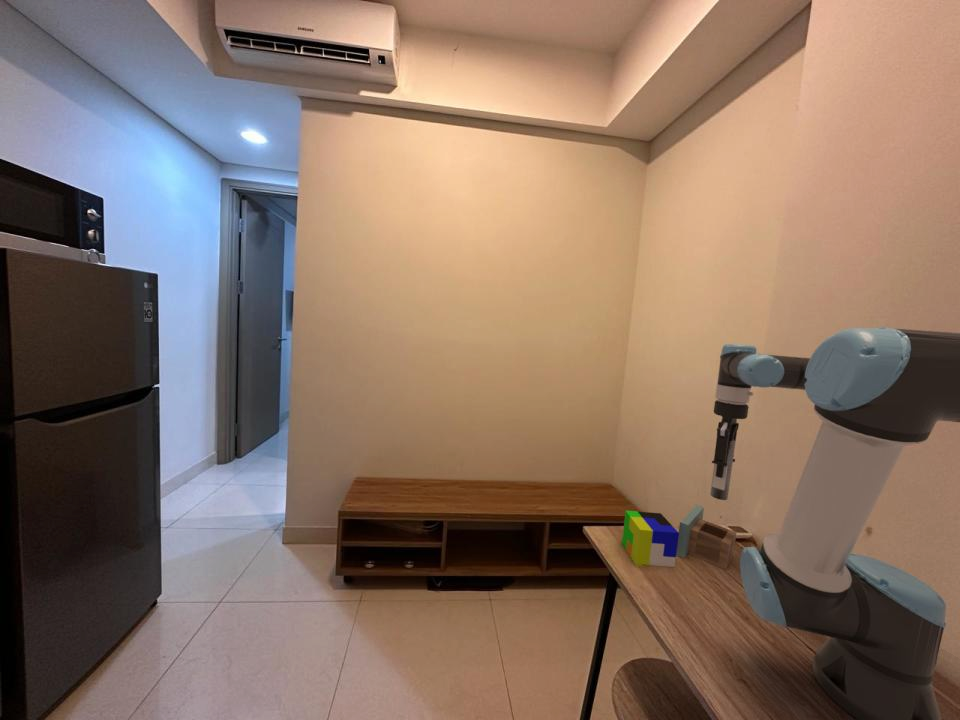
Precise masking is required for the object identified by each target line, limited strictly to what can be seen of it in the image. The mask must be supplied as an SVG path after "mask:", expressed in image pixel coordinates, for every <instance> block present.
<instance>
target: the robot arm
mask: <svg viewBox="0 0 960 720" xmlns="http://www.w3.org/2000/svg"><path fill="white" fill-rule="evenodd" d="M719 359H720V360H719V368H718V375H717V376H718V377H717V383H716V389H715V394H714V395H715V396H714V397H715V399H716V400H715V401H714V407H713V413H714V415H717V416H720V417H722V418H721V421H719V422H718V425H717V428H716V442H715V449H714V456H713V460H711V463H712V464H713V465H714V464H715V468H714V467H713V470H714V476H713V475H712V478H713V483H712V482H711V485H712V487H715V488H718V489H721V490H724V489H725V481H726V474H727V467H728V466H727V460H728V454H729V448H730V442H731V441H733V440H734V441H736V442H737V435H738V434H737V433H738V429H739V427H740V426H739V425H740V424H739V422H738V421H737V420H745V419H747V417H748V416H749V414H748V413H749V405H748V403H750V397H751V396H754V393H753V391H752V390H751V389H752V387H754V388H757V387H758V388H763V389H764V388H777V389H778V388H779V389H790V390H793V389H795V390H802V391H805V393H806V395H807V398H808V399H809V400H810V402H811V403H813V404H814V407H813V411H814V413H815V414H816V415H817V416H818V418H819V419H820V420H821V421H822V422H821V423H820V424H821V425H820V426H819V427H820V428H819V430H818V433H817V435H816V437H815V440H814V443H813V445H812V448H811V449H810V452H809V454H808V455H809V456H808V457H807V461H806V463H805V465H804V468H803V471H802V473H801V476H800V479H799V481H798V483H797V485H796V488H795V491H794V493H793V497H792V498H791V501H790V503H789V506H788V508H787V512H786V513H785V517H784V518H783V521H782V523H781V524H782V525H781V526H780V529H779V531H774V532H770V533H769V534H767V535H766V536H765V538H764V539H763V542H762V544H761V547H760V548H756V547H755V546H748V547H747V546H746V547H744V548H743V549H742V551H741V553H740V558H739V560H740V561H739V568H740V576H741V582H742V583H741V584H742V586H743V589H744V593H745V595H746V598H747V602H748V603H749V606H750V607H751V609H752V611H753V612H754V613H755V614H756V616H758V618H760V619H762V620H764V621H766V622H769V623H770V624H771V623H772V624H775V625H779V626H781V627H782V628H785V629H786V628H789V629H794V630H798V631H802V632H806V633H807V632H808V633H811V634H817V635H821V636H825V637H828V638H827V639H826V641H824V643H823V644H822V645H821V646H820V648H819V649H818V650H816V652H815V654H814V657H813V663H812V672H813V676H814V678H815V680H816V682H817V684H819V686H820V687H821V688H822V690H823V691H824V692H825V693H826V694H827V695H828V696H829V697H830V699H832V700H833V702H835V703H836V704H837V705H838V706H839V707H841V709H843V710H844V711H845V712H847V713H848V714H849V715H851V716H852V717H854V718H855V719H856V720H943V719H942V716H941V713H940V709H939V706H938V701H937V697H936V694H935V691H934V686H933V680H934V679H933V678H934V675H935V671H936V665H937V660H938V654H939V651H940V647H941V642H942V638H943V634H944V631H945V630H944V629H945V628H946V627H947V623H946V610H947V606H946V605H947V604H946V602H945V600H944V598H943V597H942V596H941V595H940V593H938V591H936V590H935V589H934V588H933V587H931V586H930V585H929V584H927V583H925V582H924V581H923V580H921V579H919V578H918V577H916V576H914V575H913V574H911V573H909V572H907V571H905V570H903V569H901V568H899V567H897V566H895V565H892V564H890V563H888V562H885V561H882V560H880V559H877V558H874V557H871V556H867V555H863V554H861V553H860V554H859V553H852V552H853V549H854V547H855V546H856V544H857V541H858V540H859V537H860V535H861V533H862V532H863V529H864V527H865V525H866V524H867V521H868V519H869V517H870V516H871V513H872V512H873V510H874V508H875V505H876V503H877V502H878V500H879V498H880V495H881V494H882V491H883V489H884V488H885V485H886V484H887V482H888V480H889V478H890V476H891V474H892V472H893V470H894V468H895V465H896V464H897V462H898V460H899V457H900V455H901V454H902V452H903V450H904V448H905V447H909V446H913V445H920V444H924V443H926V441H927V440H928V439H929V437H930V435H931V433H932V432H933V429H934V428H935V426H936V424H937V422H939V421H941V422H952V423H960V332H948V331H947V332H946V331H936V330H933V331H932V330H919V329H908V328H895V327H893V328H892V327H888V326H885V327H881V326H879V327H878V326H877V327H873V328H872V327H871V328H870V327H853V328H852V327H851V328H846V329H843V330H839V331H837V332H836V333H833V335H830V336H828V337H827V338H825V339H824V340H823V341H822V342H821V343H820V344H819V345H818V346H817V347H816V348H815V350H814V351H813V353H812V355H811V356H810V357H802V356H801V357H797V356H790V355H789V356H787V355H775V354H765V353H764V354H763V353H757V347H756V346H755V345H752V344H751V345H750V344H738V343H736V344H735V343H725V344H723V346H722V349H721V353H720V356H719ZM734 457H735V455H734V456H733V463H735V462H736V458H734Z"/></svg>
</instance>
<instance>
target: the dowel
mask: <svg viewBox="0 0 960 720" xmlns="http://www.w3.org/2000/svg"><path fill="white" fill-rule="evenodd" d="M736 442H737V440H736V441H734V440H733V441H731V442H730V448H729V454H728V460H727V466H728V467H727V474H726V481H725V489H724V490H721V489H718V488H715V487H712V483H713V476H714V468H715V464H714V463H713V470H712V471H713V472H712V477H711V479H712V480H711V485H710V486H711V488H710V494H709V495H710V496H711V497H712V498H714V499H717V500H721V501H727V500H728V499H729V492H730V491H729V490H730V482H731V478H732V477H731V476H732V471H733V470H732V469H733V463H734V462H733V459H734V457H735V448H736ZM733 456H734V457H733Z"/></svg>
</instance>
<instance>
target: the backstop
mask: <svg viewBox="0 0 960 720" xmlns="http://www.w3.org/2000/svg"><path fill="white" fill-rule="evenodd" d="M704 511H705V507H704V506H701V505H698V504H696V505H695V506H694V507H693V508H692V509H691V510H690V511H688V513H687V514H686V515H685V516H684V518H682V519H681V520H680V521H679V527H678V532H679V537H678V544H677V552H676V557H680V558H682V559H684V558H685V557H686V556H687V554H688V547H689V539H690V531H691V528H692V527H693V526H694V525H695V524H696V523H697V521H698V520H699V519H702V520H704V519H703V518H704Z"/></svg>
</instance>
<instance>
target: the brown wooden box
mask: <svg viewBox="0 0 960 720" xmlns="http://www.w3.org/2000/svg"><path fill="white" fill-rule="evenodd" d="M736 536H737V532H736V531H734V530H731V529H728V528H726V527H723V526H720V525H718V524H715V523H713V522H709V521H707V520H704V519H699V520H698V521H697V523H696V524H695V525H694V526H693V527H692V528H691V531H690V539H689V547H688V553H687V554H688V555H691V556H694V557H696V558H698V559H699V560H703V561H705V562H707V563H709V564H711V565H713V566H716V567H719V568H721V569H723V570H725V571H726V570H727V568H728V566H729V564H730V562H731V560H732V559H733V557H734V552H735V551H734V550H735V543H736V538H737V537H736Z"/></svg>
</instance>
